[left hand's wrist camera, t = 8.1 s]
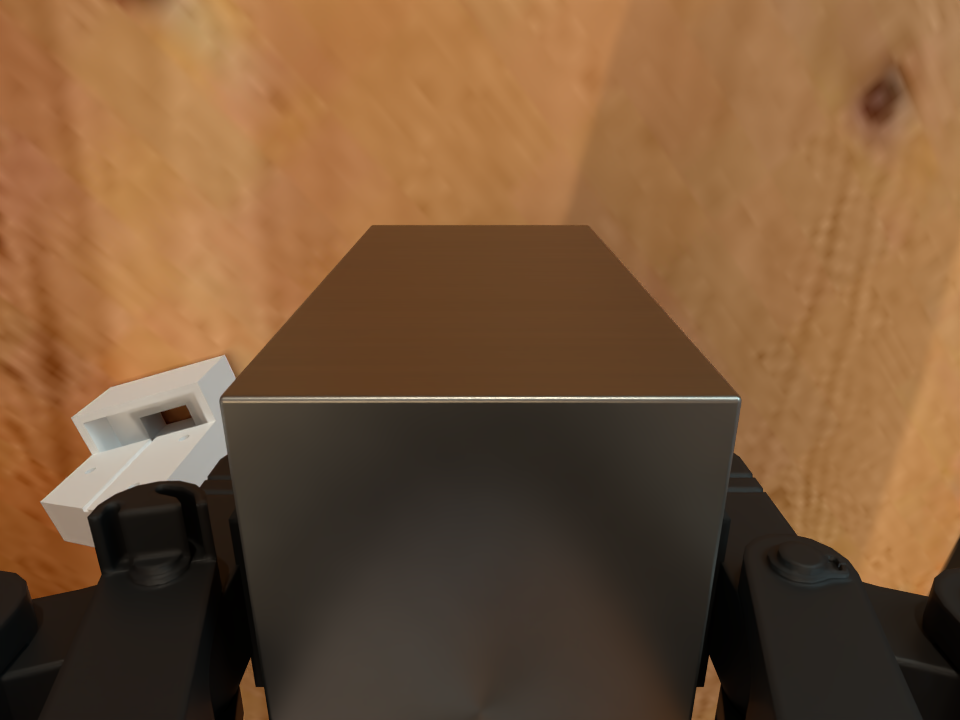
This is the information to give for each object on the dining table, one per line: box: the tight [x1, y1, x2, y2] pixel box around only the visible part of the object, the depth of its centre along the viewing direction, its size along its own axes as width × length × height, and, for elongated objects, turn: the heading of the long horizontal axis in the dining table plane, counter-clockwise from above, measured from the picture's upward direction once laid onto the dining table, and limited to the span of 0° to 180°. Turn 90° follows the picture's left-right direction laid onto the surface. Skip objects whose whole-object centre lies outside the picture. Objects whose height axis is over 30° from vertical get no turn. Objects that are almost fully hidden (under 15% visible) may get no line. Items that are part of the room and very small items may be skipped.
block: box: [219, 225, 741, 720], centre depth 11 cm, size 7×5×9 cm, turn 0°
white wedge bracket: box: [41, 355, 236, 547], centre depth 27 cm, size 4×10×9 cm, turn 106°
